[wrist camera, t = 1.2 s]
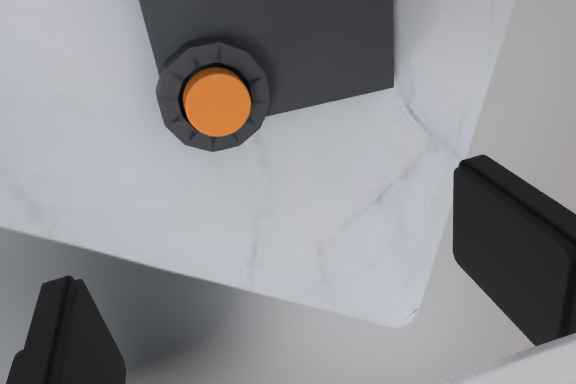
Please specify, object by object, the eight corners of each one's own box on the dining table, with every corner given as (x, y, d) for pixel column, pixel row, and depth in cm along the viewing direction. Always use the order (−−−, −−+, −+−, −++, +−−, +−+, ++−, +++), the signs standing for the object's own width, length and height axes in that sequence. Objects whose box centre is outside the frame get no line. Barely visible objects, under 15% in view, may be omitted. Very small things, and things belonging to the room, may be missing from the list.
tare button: (190, 134, 31) (193, 143, 30) (176, 73, 29) (178, 81, 28) (250, 120, 32) (256, 129, 30) (240, 60, 30) (245, 67, 28)
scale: (171, 143, 34) (174, 161, 31) (102, -106, 26) (99, -108, 23) (385, 94, 37) (404, 106, 34) (381, -143, 29) (406, -149, 26)
